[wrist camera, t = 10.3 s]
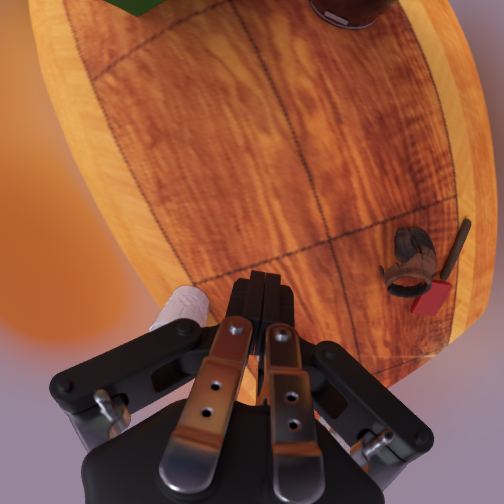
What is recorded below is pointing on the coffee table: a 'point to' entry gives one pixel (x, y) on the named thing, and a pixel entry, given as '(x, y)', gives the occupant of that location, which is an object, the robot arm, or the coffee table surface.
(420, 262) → the dark brown curved piece
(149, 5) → the hardback book
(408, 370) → the coffee table surface
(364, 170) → the coffee table surface
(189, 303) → the white cup
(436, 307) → the spatula
